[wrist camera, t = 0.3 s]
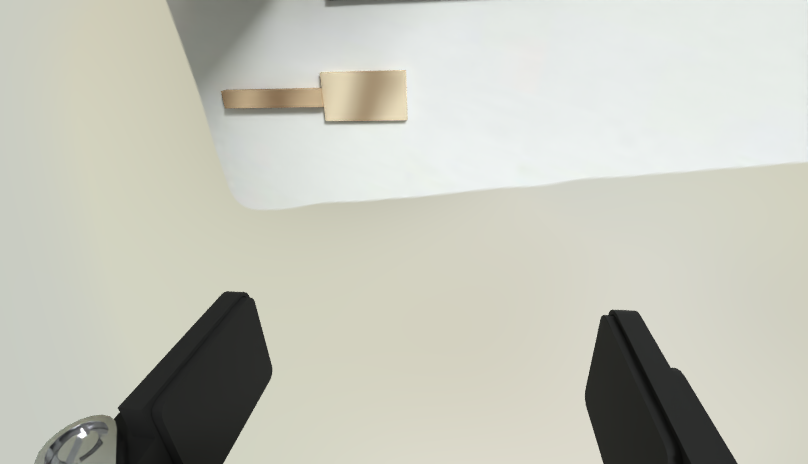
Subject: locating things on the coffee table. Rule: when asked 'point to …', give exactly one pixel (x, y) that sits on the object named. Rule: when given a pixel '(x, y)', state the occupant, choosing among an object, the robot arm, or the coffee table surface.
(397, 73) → the turner
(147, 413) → the robot arm
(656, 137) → the coffee table surface
